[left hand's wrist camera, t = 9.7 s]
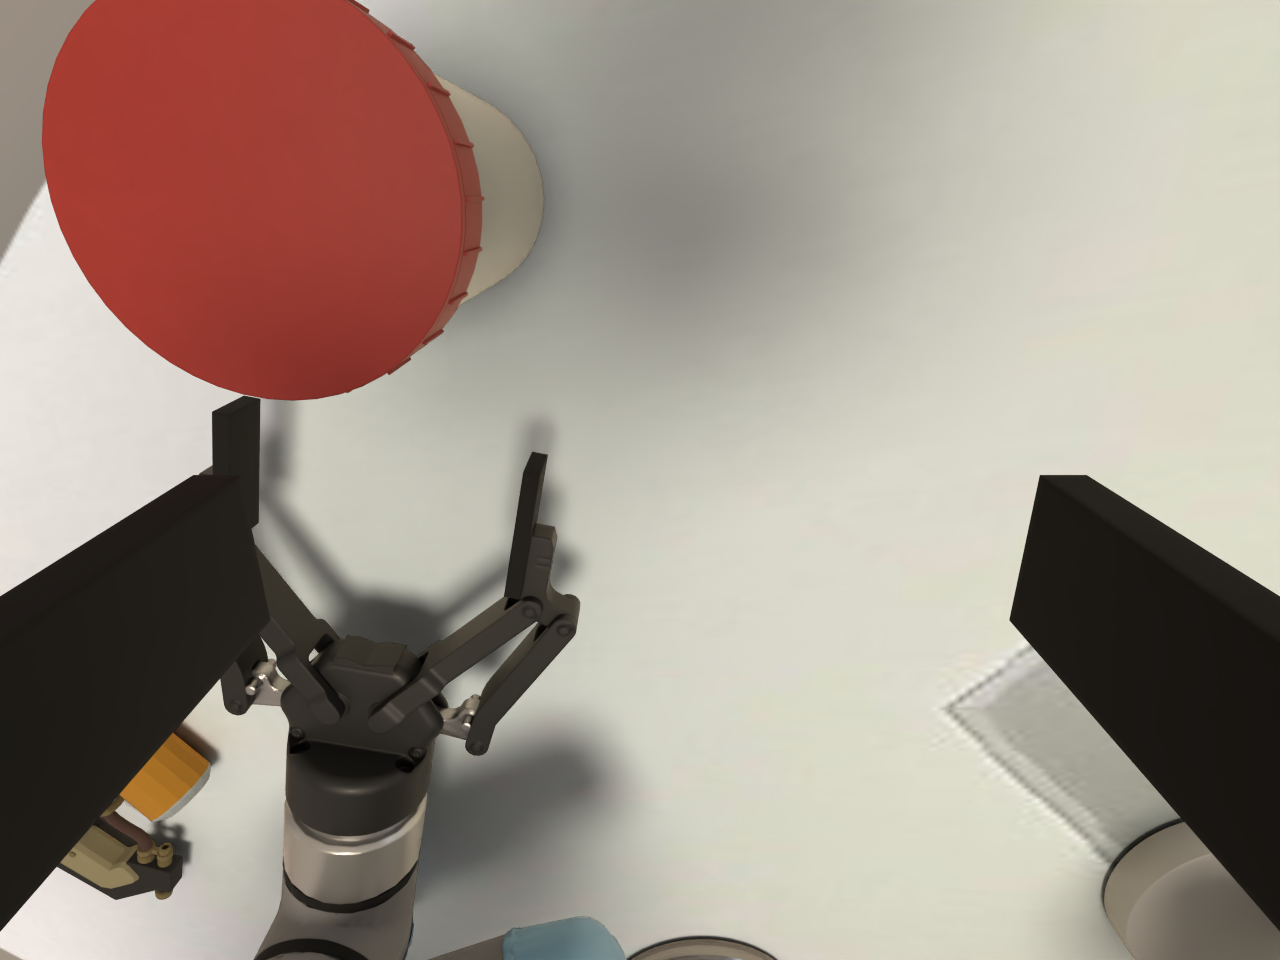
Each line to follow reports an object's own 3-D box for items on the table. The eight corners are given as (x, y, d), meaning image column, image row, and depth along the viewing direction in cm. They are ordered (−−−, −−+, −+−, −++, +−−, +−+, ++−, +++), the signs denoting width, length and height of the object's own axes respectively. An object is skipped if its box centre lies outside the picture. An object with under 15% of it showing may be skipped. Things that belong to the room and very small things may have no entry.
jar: (446, 327, 38) (277, 442, 21) (317, 177, 35) (0, 164, 18) (582, 213, 36) (520, 234, 18) (455, 45, 33) (246, -114, 16)
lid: (309, 445, 23) (272, 473, 20) (31, 163, 20) (-48, 159, 18) (560, 234, 20) (549, 239, 18) (286, -121, 18) (233, -167, 15)
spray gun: (180, 886, 53) (-23, 794, 51) (257, 741, 47) (29, 629, 45) (140, 943, 49) (-83, 847, 47) (217, 793, 43) (-35, 674, 41)
